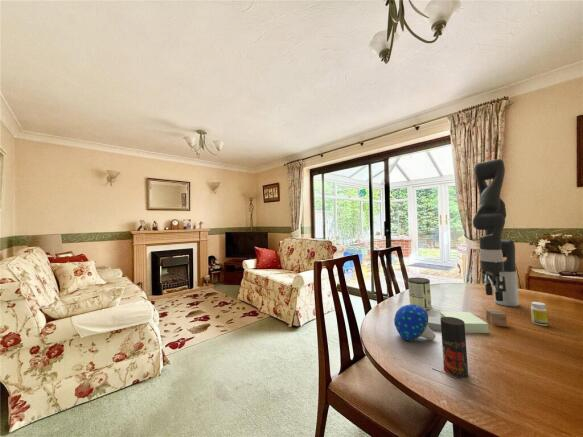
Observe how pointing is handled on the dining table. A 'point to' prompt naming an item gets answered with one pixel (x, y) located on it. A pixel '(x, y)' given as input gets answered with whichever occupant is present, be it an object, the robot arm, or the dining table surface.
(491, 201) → the robot arm
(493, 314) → the walnut cube
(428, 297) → the coffee can
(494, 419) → the dining table surface
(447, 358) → the deodorant
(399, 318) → the mushroom
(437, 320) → the slate block
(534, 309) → the supplement bottle
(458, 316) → the sage block
